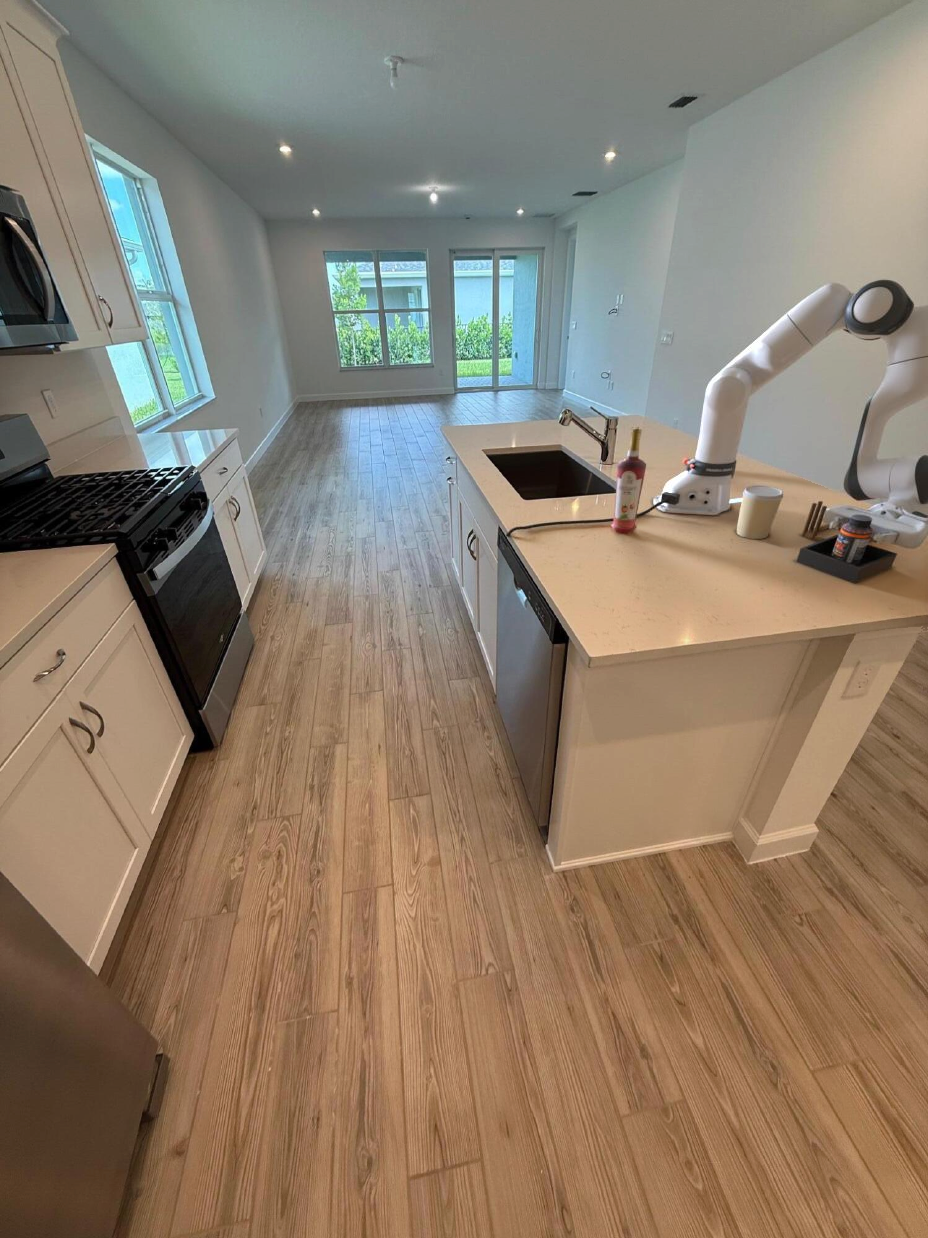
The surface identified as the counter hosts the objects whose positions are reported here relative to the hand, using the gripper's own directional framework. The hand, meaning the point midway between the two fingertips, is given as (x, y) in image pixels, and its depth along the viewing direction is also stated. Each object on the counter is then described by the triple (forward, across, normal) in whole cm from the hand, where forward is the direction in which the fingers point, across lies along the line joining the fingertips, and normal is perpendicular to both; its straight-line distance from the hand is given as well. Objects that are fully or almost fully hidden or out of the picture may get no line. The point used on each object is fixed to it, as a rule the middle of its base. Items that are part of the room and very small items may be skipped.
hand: (853, 532), depth 116 cm
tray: (0, 0, +8) cm, 8 cm away
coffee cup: (0, -24, +8) cm, 25 cm away
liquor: (+27, -45, +8) cm, 53 cm away
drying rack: (-16, -10, +8) cm, 20 cm away
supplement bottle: (-1, 0, +8) cm, 8 cm away
